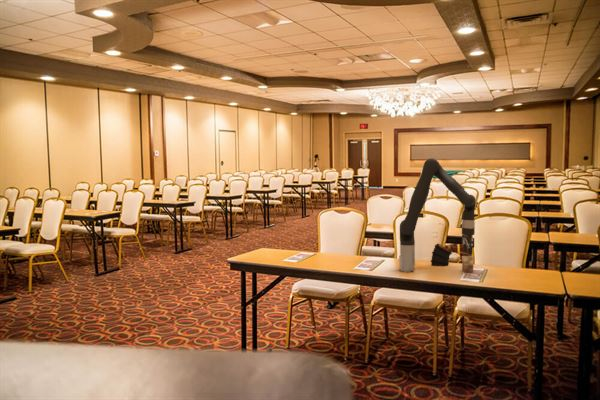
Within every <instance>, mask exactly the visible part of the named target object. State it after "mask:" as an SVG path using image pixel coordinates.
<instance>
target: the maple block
mask: <svg viewBox="0 0 600 400" xmlns="http://www.w3.org/2000/svg"><path fill="white" fill-rule="evenodd" d="M474 258H475V257H474V256H472V255H462V258H461V259H462V264H464V265H473V266H474ZM462 264H461V265H462Z"/></svg>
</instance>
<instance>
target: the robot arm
mask: <svg viewBox="0 0 600 400" xmlns="http://www.w3.org/2000/svg"><path fill="white" fill-rule="evenodd" d="M433 177H435V178H437V179H438V180H439V181H440V182H441V183H442V184H443V185H444V186H445V188H447V189H448V191H450V193H452V195H454V196H455V197H456V198H457V199H458V201H459V202H460V203H461V204H462V205H463V211H462V221H461V245H462V251H463V252H464V253H465V252H466V253H467V252H468V255H473V249H474V248H475V237H473V236H474V235H475V230H476V229H475V228H476V227H475V225H476V224H475V223H476V222H475V211H476V205H477V201H476V200H477V199H476V197H475V196H474V195H473V194H469V193H468V191H466V190H465V187H464V186H462V185H461V184H460V183H459V182H458V181H457V180H456V179H455V178H453V177H452V176H451V175H450V174H449V173H447V172H446V171H445V169H444V168H443V166H442V165H441V164H440V163H439V161H438V160H437V159H435V158H433V157H431V158H428V159H426V160H425V161H424V163H423V167H422V170H421V174H420V177H419V179H418V181H417V183H416V186H415V187H414V191H413V192H412V196H411V198H410V201H409V206H408V209H407V210H408V211H407V213H406V216H405V217H404V219H403V220H402V221H401V222H400V223H399V244H400V246H399V252H400V253H399V257H398V258H399V259H398V260H399V267H398V268H399V271H401V272H405V273H412V272H414V271H415V270H416V269H415V268H416V266H415V265H416V264H415V263H416V261H415V260H416V257H415V256H416V252H415V248H416V241H415V240H416V239H415V231H416V227H417V224H418V220H419V217H420V214H421V213H422V211H423V208H424V206H425V204H426V202H427V200H428V196H429V193H430V190H431V189H430V188H431V183H432V180H433Z"/></svg>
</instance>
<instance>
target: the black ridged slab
mask: <svg viewBox="0 0 600 400" xmlns="http://www.w3.org/2000/svg"><path fill="white" fill-rule="evenodd" d="M452 253H453V251H452V250H450V249H449V248H447V247H446V246H443V245H441V244H440V243H436V244H435V245H434V248H433V251H432V252H431V254H432V255H431V259H430V262H431V266H432V267H449V265H450V263H449V260H450V257H451V255H452Z"/></svg>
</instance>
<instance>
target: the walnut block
mask: <svg viewBox="0 0 600 400" xmlns="http://www.w3.org/2000/svg"><path fill="white" fill-rule="evenodd" d="M461 268H462V269H461V270H462V272H461V273H463V272H464V273H463V274H465V273H472V274H474V264H473V265H464V264H461Z"/></svg>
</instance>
